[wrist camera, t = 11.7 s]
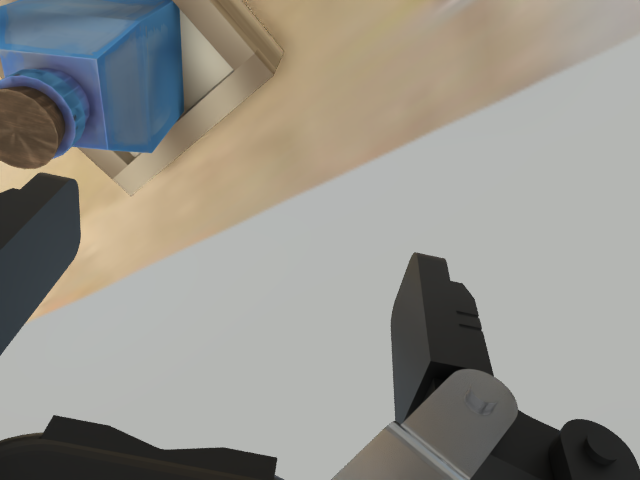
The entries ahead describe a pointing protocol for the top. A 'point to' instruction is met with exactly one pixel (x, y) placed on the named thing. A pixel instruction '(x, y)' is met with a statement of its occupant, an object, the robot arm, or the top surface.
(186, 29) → the square tray
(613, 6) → the top surface
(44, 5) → the perfume bottle
